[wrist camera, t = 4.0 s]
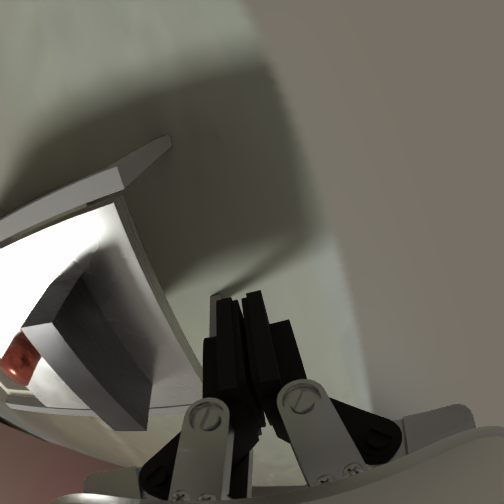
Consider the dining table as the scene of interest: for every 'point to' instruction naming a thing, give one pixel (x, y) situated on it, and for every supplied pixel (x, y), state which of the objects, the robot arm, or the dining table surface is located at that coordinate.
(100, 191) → the white box with rails
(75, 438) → the dining table surface
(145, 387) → the lid
